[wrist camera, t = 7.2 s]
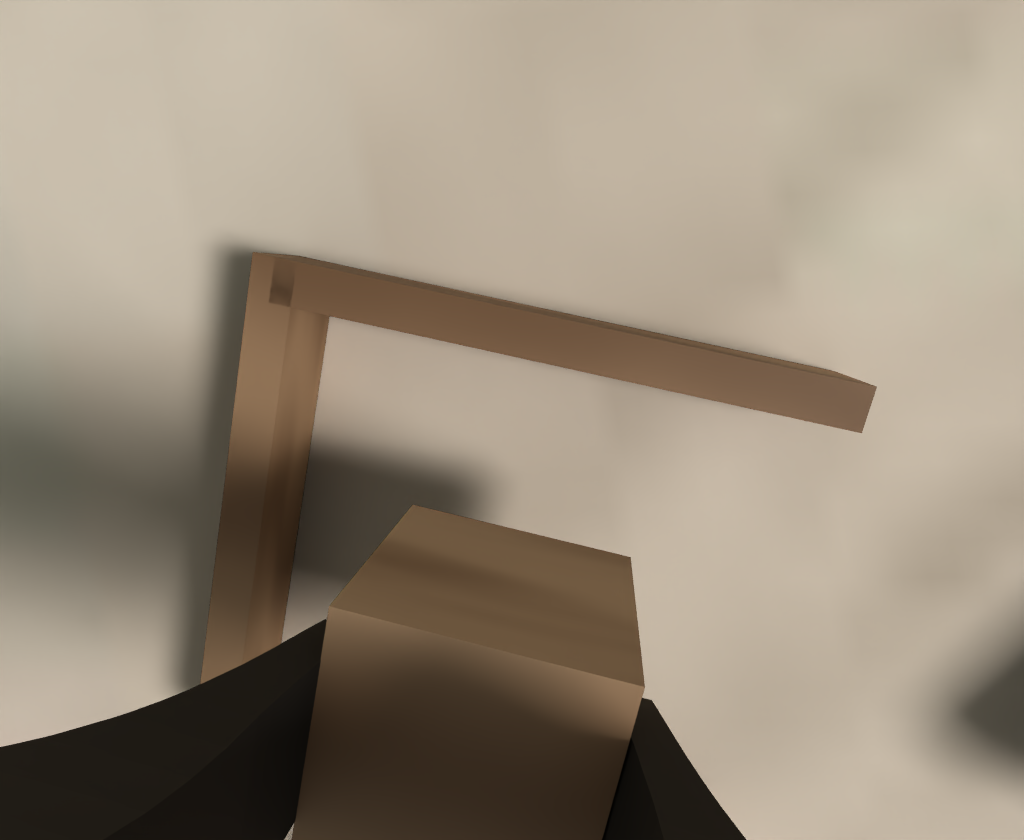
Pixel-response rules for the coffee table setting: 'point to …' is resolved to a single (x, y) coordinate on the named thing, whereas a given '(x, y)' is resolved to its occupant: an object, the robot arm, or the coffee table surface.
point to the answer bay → (447, 317)
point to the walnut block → (473, 689)
